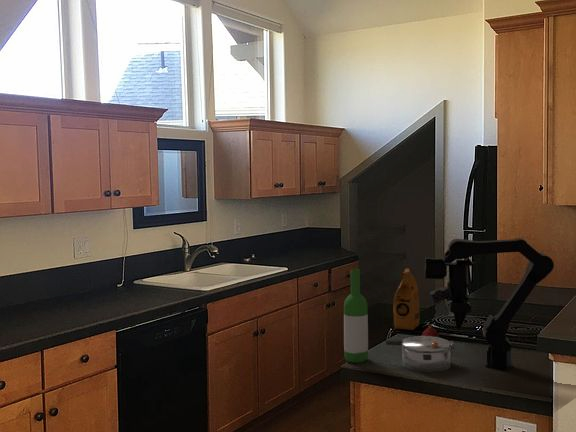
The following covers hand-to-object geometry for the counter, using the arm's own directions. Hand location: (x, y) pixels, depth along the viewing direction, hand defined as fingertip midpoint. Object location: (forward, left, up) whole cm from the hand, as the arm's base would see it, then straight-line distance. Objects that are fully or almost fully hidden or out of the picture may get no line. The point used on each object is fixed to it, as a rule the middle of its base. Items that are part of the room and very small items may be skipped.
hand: (458, 328), depth 205 cm
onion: (+17, -10, -12) cm, 23 cm away
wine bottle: (+28, +17, -12) cm, 35 cm away
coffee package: (+40, -29, -12) cm, 51 cm away
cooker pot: (+8, +6, -12) cm, 16 cm away
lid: (+10, +7, -6) cm, 13 cm away
